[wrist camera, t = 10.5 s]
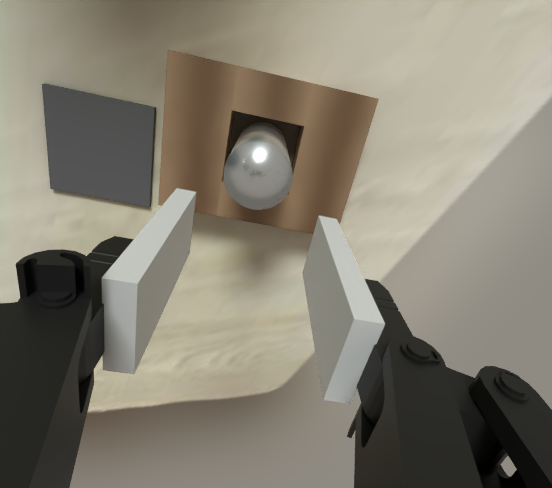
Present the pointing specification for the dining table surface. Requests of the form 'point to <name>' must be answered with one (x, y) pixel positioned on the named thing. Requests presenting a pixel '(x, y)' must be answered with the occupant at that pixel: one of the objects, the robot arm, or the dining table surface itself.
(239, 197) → the brushed steel cylinder
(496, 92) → the dining table surface
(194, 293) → the dining table surface
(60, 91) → the pad
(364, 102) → the jig
